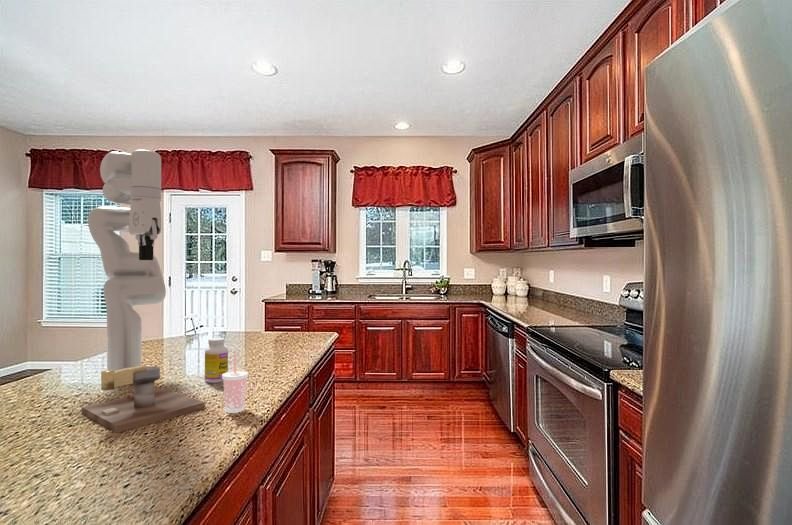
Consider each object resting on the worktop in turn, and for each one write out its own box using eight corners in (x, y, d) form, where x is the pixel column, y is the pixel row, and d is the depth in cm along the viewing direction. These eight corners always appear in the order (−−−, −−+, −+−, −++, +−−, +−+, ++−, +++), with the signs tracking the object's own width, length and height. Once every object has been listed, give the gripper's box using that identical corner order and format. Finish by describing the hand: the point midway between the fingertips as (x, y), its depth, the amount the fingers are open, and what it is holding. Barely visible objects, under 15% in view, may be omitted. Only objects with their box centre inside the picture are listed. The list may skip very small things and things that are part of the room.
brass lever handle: (110, 392, 99) (110, 374, 99) (93, 387, 103) (93, 370, 103) (165, 378, 111) (165, 362, 111) (149, 375, 114) (149, 359, 114)
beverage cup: (232, 415, 107) (232, 357, 106) (216, 411, 110) (216, 354, 110) (253, 408, 112) (253, 352, 112) (237, 404, 115) (237, 350, 115)
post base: (81, 413, 108) (81, 384, 108) (165, 393, 124) (165, 368, 124) (116, 432, 96) (116, 400, 96) (204, 408, 112) (204, 380, 112)
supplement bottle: (219, 384, 133) (219, 341, 133) (199, 382, 135) (199, 340, 134) (232, 378, 140) (232, 337, 140) (213, 377, 141) (213, 336, 141)
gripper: (120, 195, 127) (120, 259, 127) (144, 191, 118) (144, 260, 118) (147, 198, 133) (147, 260, 133) (172, 194, 124) (172, 260, 125)
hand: (146, 259), depth 126 cm, fingers closed
